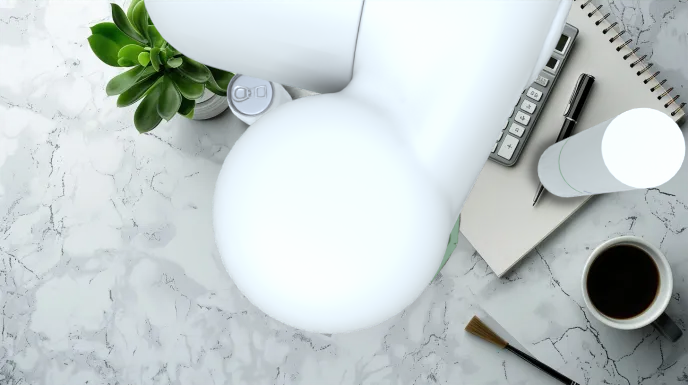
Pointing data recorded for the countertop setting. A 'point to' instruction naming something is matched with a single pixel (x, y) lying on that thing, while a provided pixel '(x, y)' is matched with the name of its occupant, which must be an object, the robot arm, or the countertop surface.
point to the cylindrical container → (615, 155)
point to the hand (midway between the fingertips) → (369, 214)
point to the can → (254, 97)
